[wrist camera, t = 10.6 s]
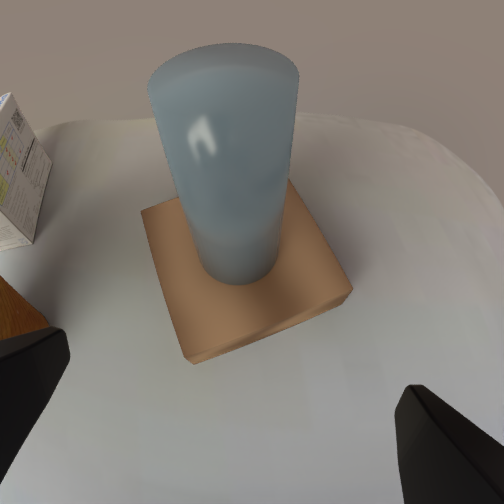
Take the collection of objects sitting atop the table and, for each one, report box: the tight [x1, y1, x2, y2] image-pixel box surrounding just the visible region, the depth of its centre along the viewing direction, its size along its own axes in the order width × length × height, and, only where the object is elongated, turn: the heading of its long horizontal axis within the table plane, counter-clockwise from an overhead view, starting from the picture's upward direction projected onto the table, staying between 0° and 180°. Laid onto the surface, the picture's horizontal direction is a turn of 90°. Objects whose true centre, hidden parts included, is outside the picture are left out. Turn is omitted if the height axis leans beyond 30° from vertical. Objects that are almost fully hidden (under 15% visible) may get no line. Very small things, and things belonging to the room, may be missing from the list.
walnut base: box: [141, 178, 353, 364], centre depth 22 cm, size 11×11×3 cm
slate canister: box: [147, 43, 299, 285], centre depth 15 cm, size 5×5×12 cm
